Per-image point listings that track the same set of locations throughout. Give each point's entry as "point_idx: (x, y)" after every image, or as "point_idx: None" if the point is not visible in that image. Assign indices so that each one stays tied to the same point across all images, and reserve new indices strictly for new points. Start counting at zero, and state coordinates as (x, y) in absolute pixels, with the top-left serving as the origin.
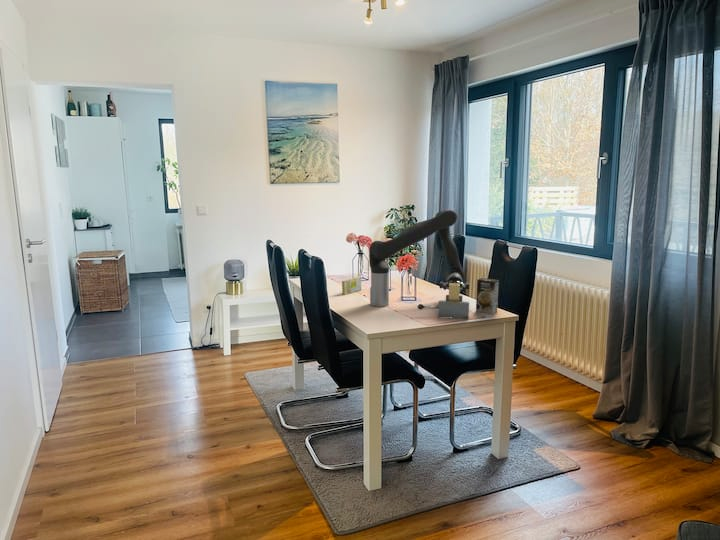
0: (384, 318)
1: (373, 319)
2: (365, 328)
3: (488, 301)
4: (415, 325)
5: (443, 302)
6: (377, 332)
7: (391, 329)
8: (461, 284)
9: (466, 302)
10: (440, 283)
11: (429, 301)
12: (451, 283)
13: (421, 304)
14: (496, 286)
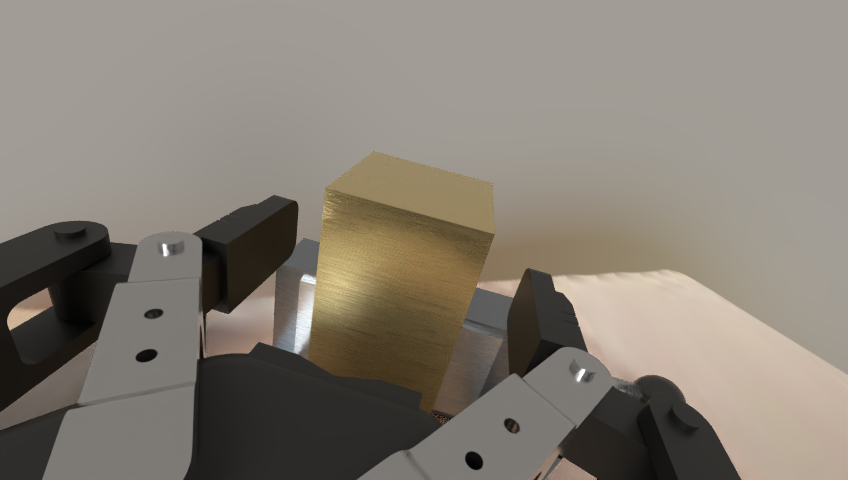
0: (794, 422)
1: (828, 412)
2: (732, 307)
3: None
4: (578, 299)
5: (491, 293)
6: (665, 272)
7: (642, 283)
8: (202, 285)
9: (310, 254)
10: (687, 412)
11: None
12: (457, 216)
13: (657, 377)
14: None
